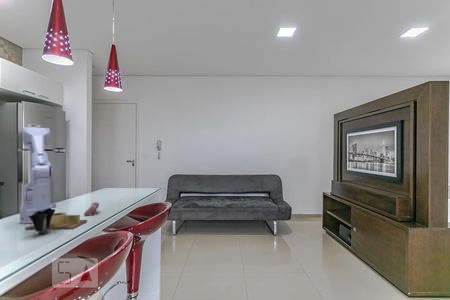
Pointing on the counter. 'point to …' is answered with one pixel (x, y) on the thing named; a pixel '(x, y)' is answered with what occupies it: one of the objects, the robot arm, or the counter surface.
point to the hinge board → (59, 226)
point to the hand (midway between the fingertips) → (42, 229)
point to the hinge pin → (44, 227)
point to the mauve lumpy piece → (92, 209)
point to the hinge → (64, 219)
